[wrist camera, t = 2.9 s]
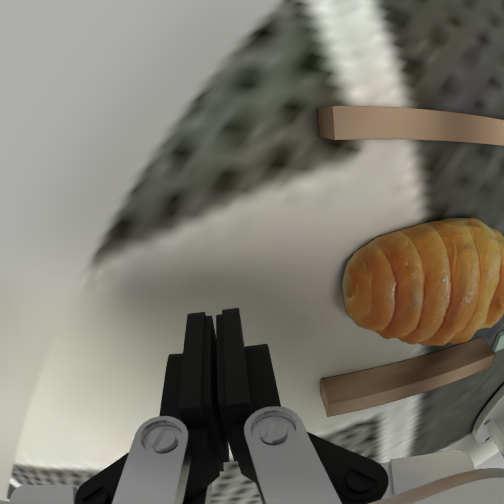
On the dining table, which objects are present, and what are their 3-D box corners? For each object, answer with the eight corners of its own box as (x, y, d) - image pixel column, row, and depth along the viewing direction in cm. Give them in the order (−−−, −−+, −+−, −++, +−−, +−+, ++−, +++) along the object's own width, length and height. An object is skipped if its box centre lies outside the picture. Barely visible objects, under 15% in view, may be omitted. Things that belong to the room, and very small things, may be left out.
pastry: (328, 334, 16) (350, 383, 13) (343, 208, 14) (380, 237, 10) (463, 315, 17) (496, 350, 14) (489, 213, 14) (535, 236, 11)
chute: (515, 123, 12) (540, 127, 10) (475, 350, 18) (490, 367, 16) (317, 107, 12) (332, 106, 10) (319, 392, 18) (327, 416, 16)
